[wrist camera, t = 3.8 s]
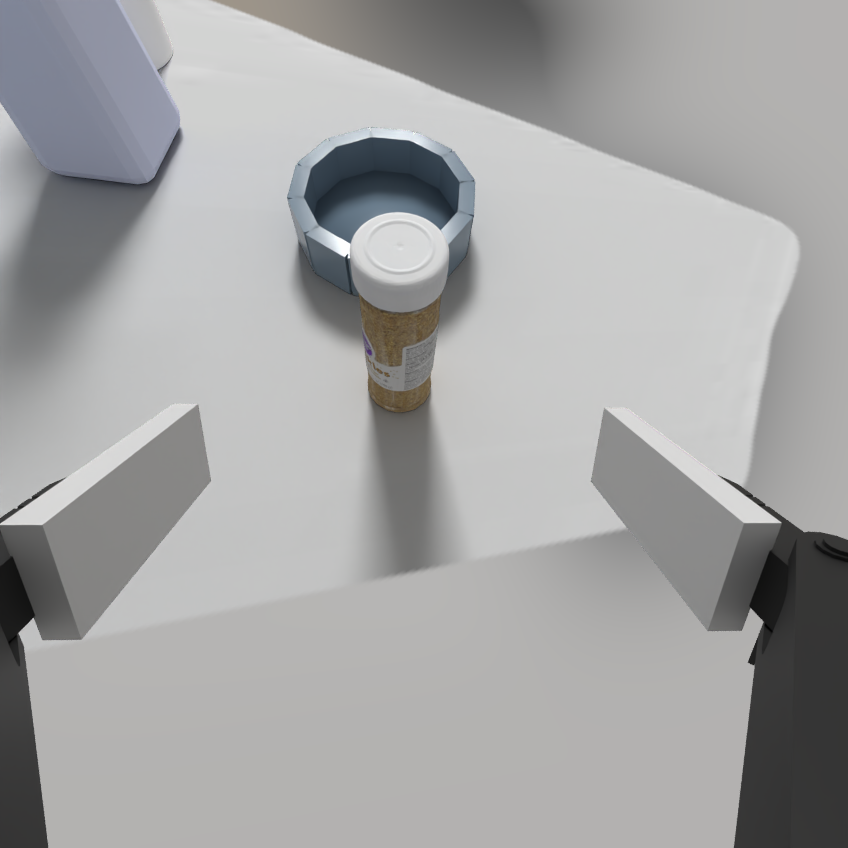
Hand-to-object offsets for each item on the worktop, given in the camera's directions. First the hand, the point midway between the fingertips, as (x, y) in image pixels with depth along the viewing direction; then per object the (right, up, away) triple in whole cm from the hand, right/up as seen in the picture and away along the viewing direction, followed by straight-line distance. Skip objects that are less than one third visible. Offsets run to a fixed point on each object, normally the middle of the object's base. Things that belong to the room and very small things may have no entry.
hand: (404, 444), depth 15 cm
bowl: (-3, +17, +23) cm, 29 cm away
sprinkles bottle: (-1, +3, +18) cm, 18 cm away
